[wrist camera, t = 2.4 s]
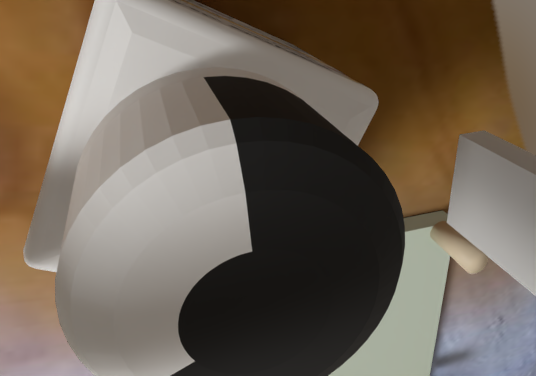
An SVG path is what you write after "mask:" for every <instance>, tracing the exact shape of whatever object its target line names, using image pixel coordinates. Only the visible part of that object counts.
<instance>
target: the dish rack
mask: <svg viewBox="0 0 536 376" xmlns="http://www.w3.org/2000/svg"><path fill="white" fill-rule="evenodd" d="M447 217H448V214H447V213H445V212H444V211H443V210H442V211H437V212H432V213H427V214H422V215H417V216H412V217H407V218H403V219H404V225H405V250H404V257H403V264H402V268H401V272H400V276H399V280H398V283H397V287H396V290H395V293H394V296H393V298H392V300H391V303H390V305H389V307H388V310H387V311H386V313H385V315H384V316H383V318H382V320H381V321H380V323H379V325H378V326H377V328H376V329H375V330H374V332H373V333H372V334H371V336H370V337H369V338H368V340H367V341H366V342H365V343H364V344H363V345H362V346H361V347H360V348H359V350H358V351H357V352H356V353H355V354H354V355H353V356H352V357H350V358H349V359H348V360H347V361H346V362H345V363H344V364H343V365H342V366H340V367H339V368H338V369H336V370H335V371H334V372H332V373H331V374H330V375H328V376H430V371H431V365H432V359H433V353H434V347H435V341H436V336H437V330H438V324H439V318H440V312H441V306H442V301H443V295H444V289H445V283H446V277H447V271H448V266H449V260H450V256H451V257H452V258H453V259H454V260H455V261H456V262H457V263H458V264H459V265H460V266H461V267H463V268H464V269H465V270H466V271H467V272H468V273H470V274H476V273H478V272H480V271H482V270H483V269H484V268H485V266H486V265H487V263H488V256H487V255H485V254H484V253H483V252H482V251H481V250H479V249H478V248H477V247H476V246H474V245H473V244H472V243H471V242H470V241H468V240H467V239H466V238H465V237H464V236H462V235H461V234H460V233H459V232H458V231H456V230H455V229H454V228H453V227H451V226H450V225H449V224H448V223H447Z"/></svg>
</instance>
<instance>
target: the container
mask: <svg viewBox="0 0 536 376" xmlns="http://www.w3.org/2000/svg"><path fill="white" fill-rule="evenodd" d="M378 104H379V101H378V97H377V95H376V93H375V92H373V91H372V90H371V89H370V88H368V87H366V86H364V85H363V84H361V83H359V82H357V81H356V80H354V79H352V78H350V77H349V76H347V75H345V74H343V73H342V72H340V71H338V70H336V69H335V68H333V67H331V66H329V65H328V64H326V63H324V62H322V61H321V60H319V59H317V58H315V57H313V56H312V55H310V54H308V53H306V52H305V51H303V50H301V49H299V48H298V47H296V46H294V45H292V44H290V43H288V42H286V41H283V40H281V39H279V38H277V37H274V36H272V35H270V34H268V33H266V32H263V31H261V30H259V29H257V28H254V27H252V26H250V25H248V24H246V23H243V22H241V21H239V20H237V19H234V18H232V17H230V16H228V15H225V14H223V13H221V12H219V11H217V10H214V9H212V8H210V7H208V6H205V5H203V4H201V3H199V2H196V1H194V0H95V1H94V5H93V8H92V12H91V15H90V19H89V22H88V26H87V29H86V33H85V36H84V40H83V43H82V47H81V50H80V54H79V57H78V61H77V64H76V68H75V71H74V75H73V78H72V82H71V85H70V89H69V92H68V96H67V99H66V103H65V106H64V110H63V113H62V117H61V120H60V124H59V127H58V131H57V134H56V138H55V141H54V145H53V148H52V152H51V155H50V159H49V162H48V166H47V169H46V173H45V177H44V180H43V184H42V187H41V191H40V194H39V198H38V201H37V205H36V208H35V212H34V215H33V219H32V222H31V226H30V229H29V233H28V236H27V240H26V243H25V247H24V250H23V252H24V260H25V262H26V263H27V264H28V266H30V267H33V268H35V269H41V270H47V271H53V272H57V273H56V278H55V302H56V307H57V312H58V317H59V322H60V325H61V327H62V330H63V332H64V335H65V337H66V339H67V342H68V344H69V345H70V347H71V348H72V350H73V351H74V353H75V354H76V356H77V357H78V359H79V360H80V361H81V362H82V363H83V364H84V365H85V366H86V367H87V368H88V369H89V370H90V372H91V373H92V374H94V375H95V376H328V375H330V374H331V373H332V372H334V371H335V370H336V369H338V368H339V367H340V366H342V365H343V364H344V363H345V362H346V361H347V360H348V359H349V358H350V357H352V356H353V355H354V354H355V353H356V352H357V351H358V350H359V348H360V347H361V346H362V345H363V344H364V343H365V342H366V341H367V340H368V338H369V337H370V336H371V334H372V333H373V332H374V330H375V329H376V328H377V326H378V325H379V323H380V321H381V320H382V318H383V316H384V315H385V313H386V311H387V310H388V307H389V305H390V303H391V300H392V298H393V296H394V293H395V290H396V287H397V283H398V280H399V276H400V272H401V268H402V264H403V257H404V250H405V225H404V219H403V214H402V208H401V205H400V203H399V200H398V197H397V194H396V192H395V189H394V188H393V186H392V184H391V183H390V181H389V179H388V177H387V176H386V174H385V173H384V171H383V170H382V169H381V168H380V167H379V165H378V164H377V163H376V162H375V161H374V160H373V158H372V157H370V156H369V155H368V154H367V153H366V152H364V151H363V150H362V149H361V148H360V147H359V146H358V144H359V143H360V141H361V139H362V137H363V135H364V133H365V131H366V129H367V127H368V125H369V123H370V121H371V119H372V118H373V116H374V114H375V112H376V110H377V107H378Z"/></svg>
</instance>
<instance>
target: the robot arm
mask: <svg viewBox="0 0 536 376" xmlns="http://www.w3.org/2000/svg"><path fill="white" fill-rule="evenodd" d="M447 223H448V224H449V225H450V226H451V227H453V228H454V229H455V230H456V231H458V232H459V233H460V234H461V235H462V236H464V237H465V238H466V239H467V240H468V241H470V242H471V243H472V244H473V245H474V246H476V247H477V248H478V249H479V250H481V251H482V252H483V253H484V254H485V255H487V256H488V257H489V258H490V259H491V260H493V261H494V262H495V263H496V264H497V265H499V266H500V267H501V268H502V269H504V270H505V271H506V272H507V273H508V274H510V275H511V276H512V277H513V278H514V279H516V280H517V281H518V282H519V283H520V284H522V285H523V286H524V287H525V288H527V289H528V290H529V291H530V292H531V293H533V294H534V295H535V296H536V155H533V154H532V153H530V152H528V151H525V150H523V149H521V148H519V147H517V146H515V145H513V144H511V143H509V142H507V141H505V140H503V139H501V138H499V137H496V136H494V135H492V134H490V133H488V132H486V131H479V132H473V133H466V134H460V135H459V142H458V149H457V156H456V162H455V169H454V176H453V183H452V190H451V197H450V203H449V210H448V217H447Z"/></svg>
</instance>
